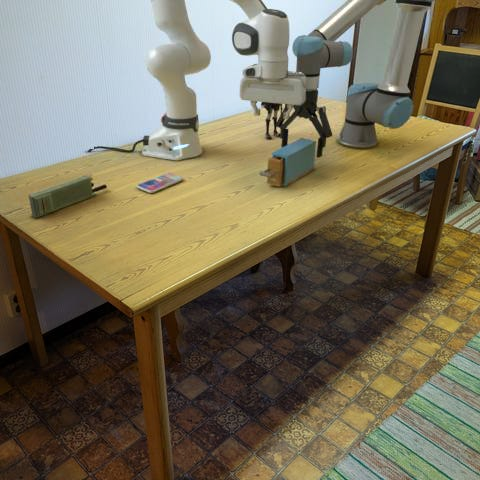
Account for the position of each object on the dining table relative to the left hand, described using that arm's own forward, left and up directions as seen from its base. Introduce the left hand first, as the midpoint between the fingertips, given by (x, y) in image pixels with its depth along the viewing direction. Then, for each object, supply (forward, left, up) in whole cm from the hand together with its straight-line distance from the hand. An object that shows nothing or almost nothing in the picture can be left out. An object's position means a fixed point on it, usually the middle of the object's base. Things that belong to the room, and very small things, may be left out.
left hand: (271, 116), depth 155 cm
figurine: (-6, +49, -22) cm, 54 cm away
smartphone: (-34, -9, -22) cm, 42 cm away
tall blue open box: (+7, +8, -22) cm, 24 cm away
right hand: (+9, +13, -15) cm, 22 cm away
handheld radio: (-55, -28, -22) cm, 66 cm away
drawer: (+4, +2, -21) cm, 22 cm away
